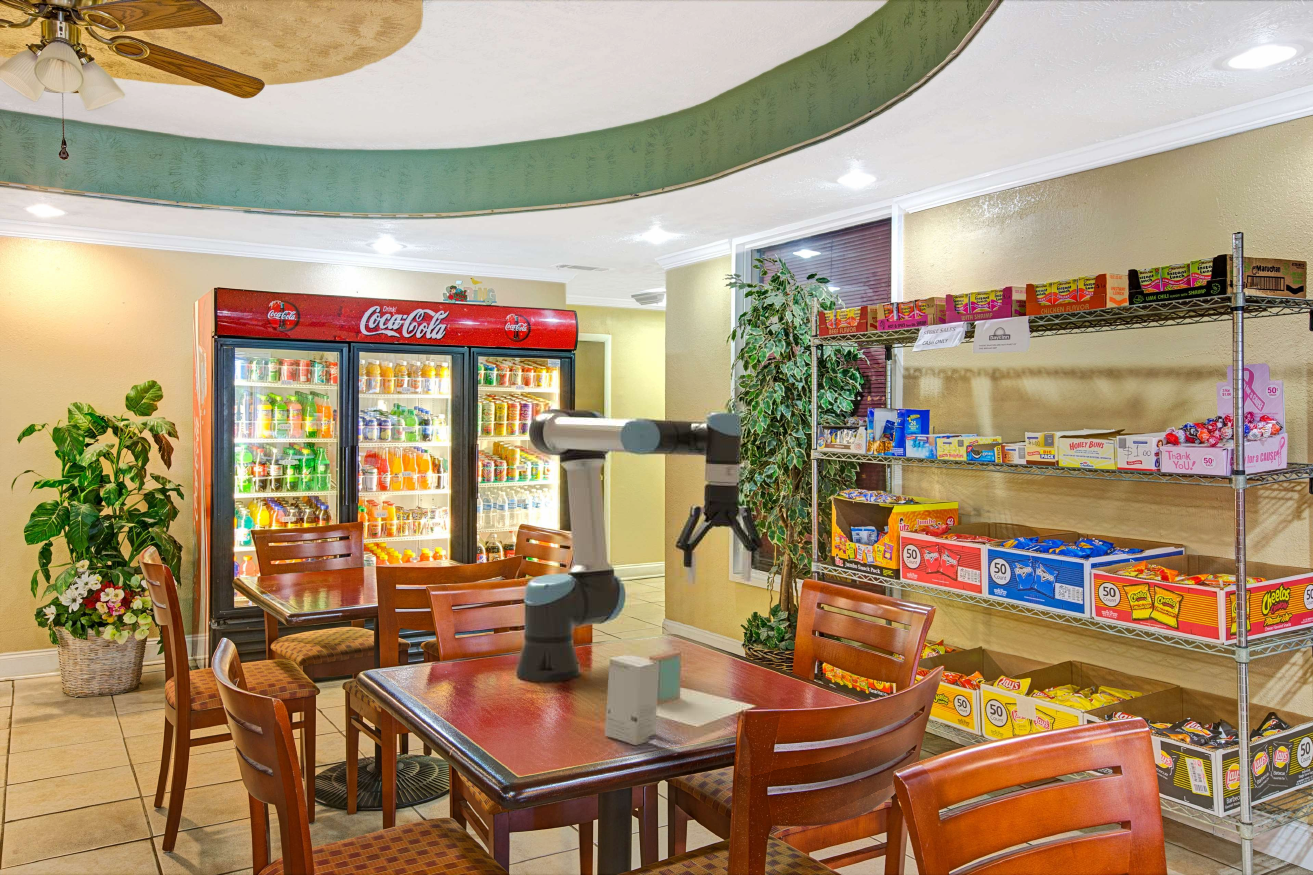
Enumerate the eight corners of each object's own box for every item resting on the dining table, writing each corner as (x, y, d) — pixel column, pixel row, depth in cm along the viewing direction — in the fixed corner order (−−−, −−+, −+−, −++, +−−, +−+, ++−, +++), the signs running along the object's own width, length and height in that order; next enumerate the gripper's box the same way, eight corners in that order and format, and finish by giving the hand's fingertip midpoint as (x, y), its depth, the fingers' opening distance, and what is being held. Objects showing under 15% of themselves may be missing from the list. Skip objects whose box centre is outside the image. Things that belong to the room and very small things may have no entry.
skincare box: (604, 736, 169) (605, 657, 169) (625, 729, 174) (627, 652, 174) (637, 746, 164) (639, 665, 164) (658, 738, 168) (660, 659, 168)
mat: (608, 706, 189) (608, 701, 189) (669, 688, 204) (669, 684, 204) (697, 731, 173) (697, 726, 173) (756, 710, 188) (756, 705, 188)
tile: (648, 703, 188) (649, 656, 188) (673, 696, 194) (674, 650, 194) (656, 705, 186) (657, 657, 187) (681, 698, 192) (682, 651, 193)
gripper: (677, 484, 185) (674, 586, 185) (780, 485, 196) (776, 582, 196) (662, 482, 192) (659, 580, 192) (762, 483, 202) (759, 576, 202)
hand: (718, 581), depth 194 cm, fingers open, 13 cm apart
